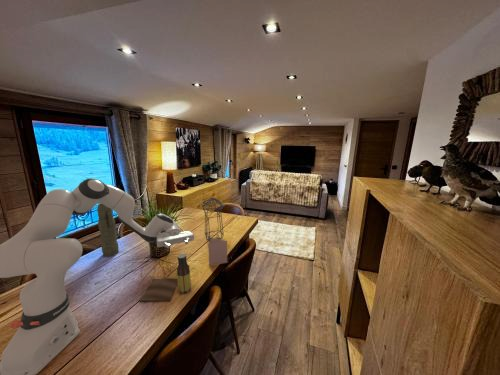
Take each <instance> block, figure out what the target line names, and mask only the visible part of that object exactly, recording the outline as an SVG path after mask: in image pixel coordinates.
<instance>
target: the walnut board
mask: <svg viewBox="0 0 500 375" xmlns="http://www.w3.org/2000/svg"><path fill="white" fill-rule="evenodd" d="M177 288H178V280H177V278H152V279H151V281H150V282H149V284H148V286H147V287H146V288H145V291H144V292H143V294H142V296H141V297H140V299H139V303H167V302H169V303H170V302H171V300H172V298H173V296H174V294H175V291H176V289H177Z"/></svg>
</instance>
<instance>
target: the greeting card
mask: <svg viewBox="0 0 500 375" xmlns="http://www.w3.org/2000/svg"><path fill="white" fill-rule="evenodd" d="M210 241H211V243H210V242H209V243H208V266H209V265H211V266H216V264H217V265H222V264H227V263H228V240H222V239H221V240H218V239H215V238H213V237H210Z"/></svg>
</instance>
